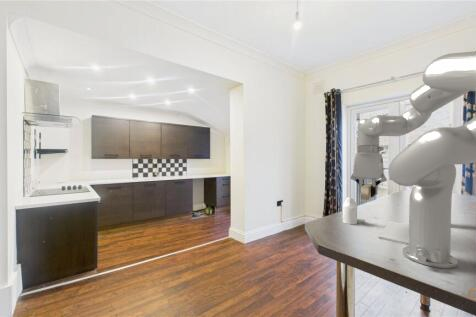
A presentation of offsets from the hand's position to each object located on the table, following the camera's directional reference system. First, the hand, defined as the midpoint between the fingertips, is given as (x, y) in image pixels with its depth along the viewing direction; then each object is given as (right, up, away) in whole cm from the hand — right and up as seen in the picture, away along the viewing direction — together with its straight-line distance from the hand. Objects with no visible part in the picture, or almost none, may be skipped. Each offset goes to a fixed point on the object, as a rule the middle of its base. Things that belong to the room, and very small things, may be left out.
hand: (367, 195), depth 89 cm
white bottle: (-1, -15, +13) cm, 20 cm away
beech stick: (+2, -1, +2) cm, 3 cm away
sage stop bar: (+2, -15, +16) cm, 22 cm away
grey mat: (+13, -15, +1) cm, 20 cm away
